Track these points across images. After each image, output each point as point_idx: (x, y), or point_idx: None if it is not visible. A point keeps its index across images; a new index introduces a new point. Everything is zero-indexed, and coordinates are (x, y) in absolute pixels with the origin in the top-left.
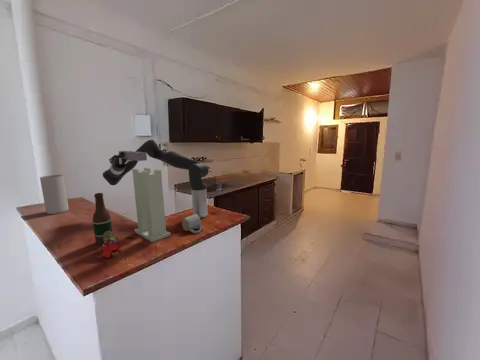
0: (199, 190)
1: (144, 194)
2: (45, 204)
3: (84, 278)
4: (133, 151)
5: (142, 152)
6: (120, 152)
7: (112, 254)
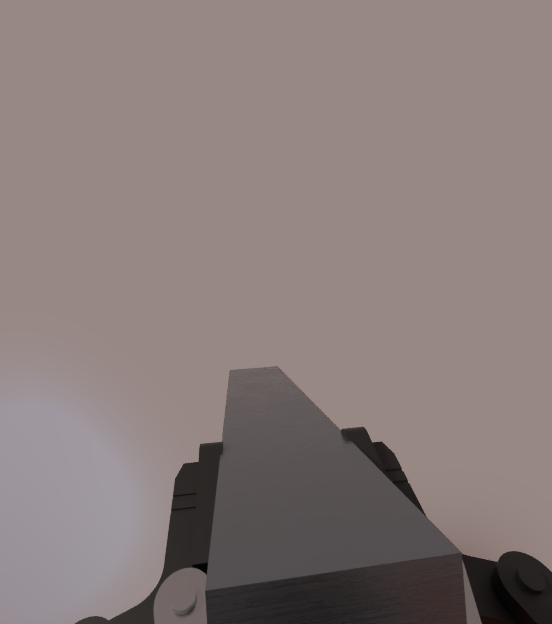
0: None
1: None
2: None
3: None
4: (233, 409)
5: (252, 368)
6: (383, 446)
7: None
